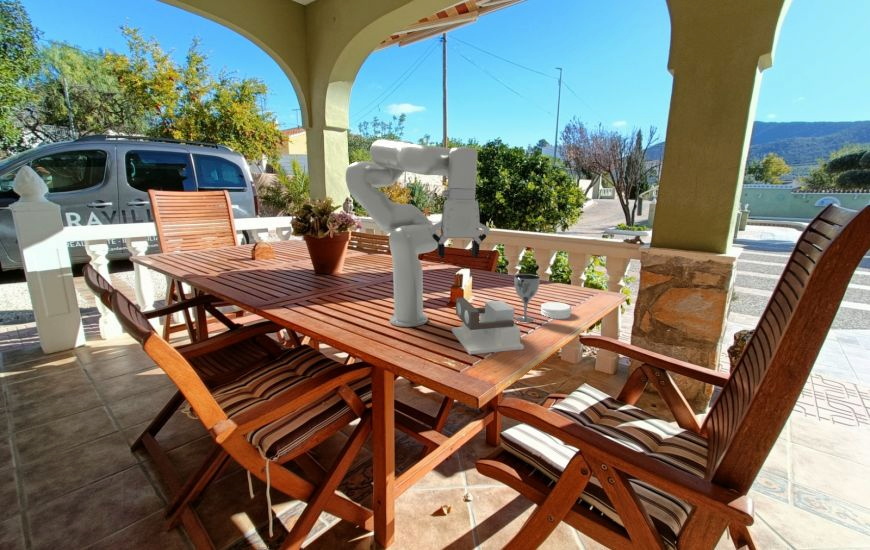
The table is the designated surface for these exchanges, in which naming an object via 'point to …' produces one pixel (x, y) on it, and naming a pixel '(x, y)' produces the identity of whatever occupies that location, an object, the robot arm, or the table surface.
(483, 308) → the grey frame
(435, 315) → the table surface
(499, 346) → the stand
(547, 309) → the white round disc
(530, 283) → the wine glass
